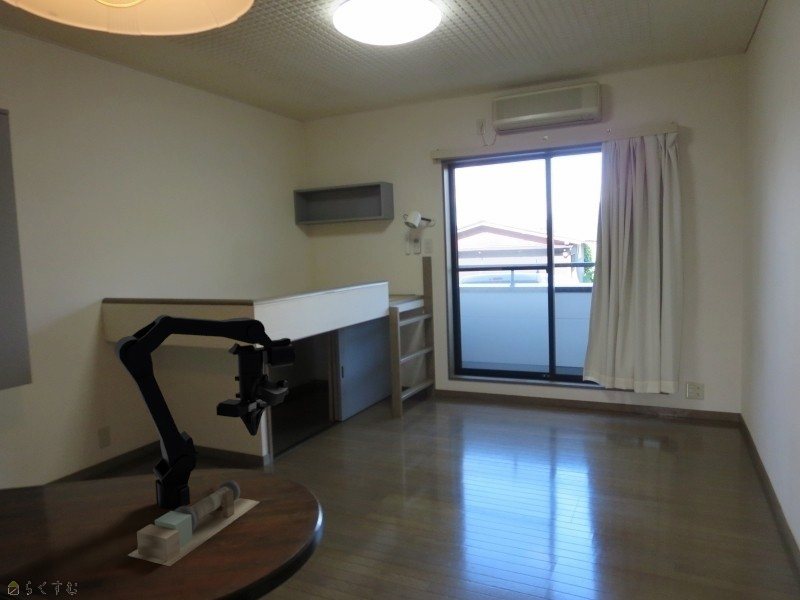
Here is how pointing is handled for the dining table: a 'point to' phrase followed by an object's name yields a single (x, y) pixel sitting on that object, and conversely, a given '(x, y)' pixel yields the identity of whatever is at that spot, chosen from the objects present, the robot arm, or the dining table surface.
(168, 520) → the block
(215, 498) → the shaft
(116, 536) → the dining table surface
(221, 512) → the bench
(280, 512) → the dining table surface
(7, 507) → the dining table surface
